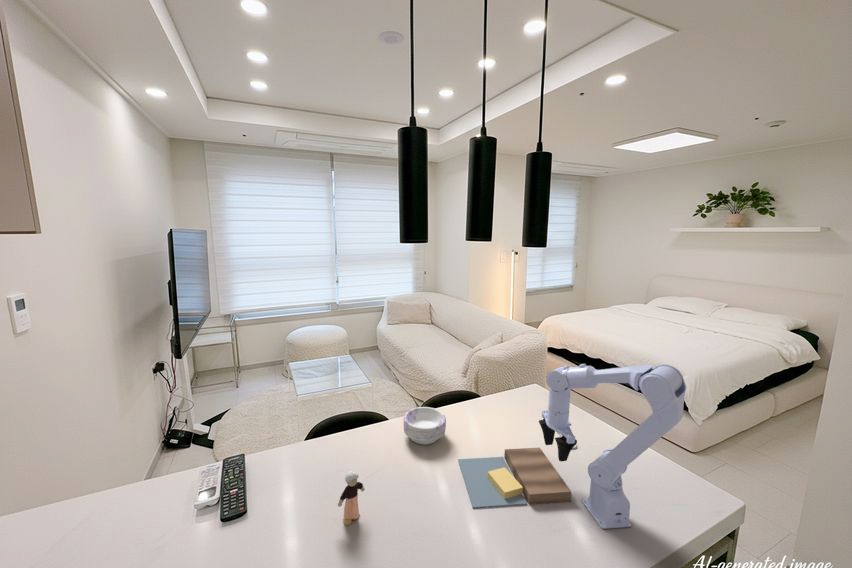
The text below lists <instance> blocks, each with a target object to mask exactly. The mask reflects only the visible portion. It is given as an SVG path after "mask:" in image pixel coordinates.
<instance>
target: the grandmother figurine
mask: <svg viewBox="0 0 852 568" xmlns="http://www.w3.org/2000/svg"><path fill="white" fill-rule="evenodd" d="M358 478H359V473H358V472H357V471H354V470H353V471H352V470H350V471H349V472H347V473H346V475H345V477H344V481H345V483H346V484H347V485H346V486H345V488H344V490H343V491H342V493H341V495H340V496H339V500H338V503H337V506H338V507H339V508H340V507H342V506H343V503H344V508H343V519H342V522H343V524H344V526H350V525H351V524H352V523H353V521H352V520H358V519H359V518H360V510H359V500H358V496H359V492H358V491H359V490H360V492H364V491H365V487H364V484H363V482H360V481H358ZM344 500H345V502H344Z"/></svg>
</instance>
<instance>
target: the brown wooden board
mask: <svg viewBox="0 0 852 568" xmlns="http://www.w3.org/2000/svg"><path fill="white" fill-rule="evenodd" d="M503 454H504V455H503V458H504V460H505V462H506V464H507V466H508V468H509V469H510V471H511V473H512V475H513V477H514V478H515V479H516V480H517V481H518V482H519V483H520V485H521V486H522V487H523V494H522V495H523V496H524V498H525V500H526V502H527V505H542V504H555V503H569V502H571V500H572V490H571V489H570V488H569V485H568V484H566V482H565V481H564V479H563V478H562V476H561V475H560V473H559V472H558V471H557V470H556V468H555V467H554V465H553V464H552V462H551V461H550V460H549V458H548V457H547V455H546V454H545V453H544V451H543V450H542V449H541V447H524V448H505V449H504V453H503Z"/></svg>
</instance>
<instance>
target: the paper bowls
mask: <svg viewBox="0 0 852 568" xmlns="http://www.w3.org/2000/svg"><path fill="white" fill-rule="evenodd" d="M446 422H447V417H446V415H445V414H444V413H443V411H441V410H440V409H438V408H435V407H429V406H419V407H414V408H411V409H410V410H407V412H405V414H404V415H403V432H404V434H405V435H406V436H407V438H409V439H411V440H412V441H413V442H414V443H416V444H418V445H430V444H433V443H435V442H436V441H438V439H440V438H442V437H443V436H444V435H445V434H446V428H447V427H446V426H447V423H446Z"/></svg>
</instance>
